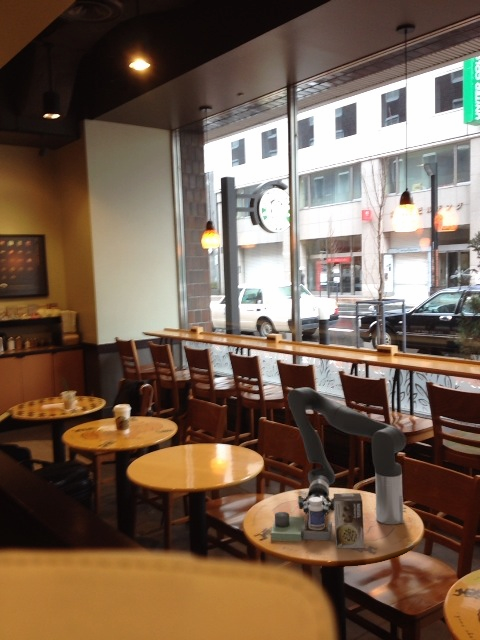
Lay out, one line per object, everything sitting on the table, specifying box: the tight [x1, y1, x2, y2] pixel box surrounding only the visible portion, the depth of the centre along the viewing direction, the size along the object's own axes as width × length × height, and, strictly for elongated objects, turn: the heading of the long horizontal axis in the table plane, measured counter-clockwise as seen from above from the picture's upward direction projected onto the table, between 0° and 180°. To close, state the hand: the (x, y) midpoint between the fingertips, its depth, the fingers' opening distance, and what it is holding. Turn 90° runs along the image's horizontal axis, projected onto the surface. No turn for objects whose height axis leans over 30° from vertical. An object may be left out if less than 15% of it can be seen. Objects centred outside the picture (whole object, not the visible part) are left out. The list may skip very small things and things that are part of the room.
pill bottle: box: [307, 497, 326, 531], centre depth 200 cm, size 6×6×10 cm
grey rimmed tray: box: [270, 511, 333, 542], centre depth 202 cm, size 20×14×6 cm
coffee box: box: [333, 492, 365, 549], centre depth 191 cm, size 9×6×16 cm
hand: (315, 511), depth 198 cm, fingers closed on pill bottle, 5 cm apart
